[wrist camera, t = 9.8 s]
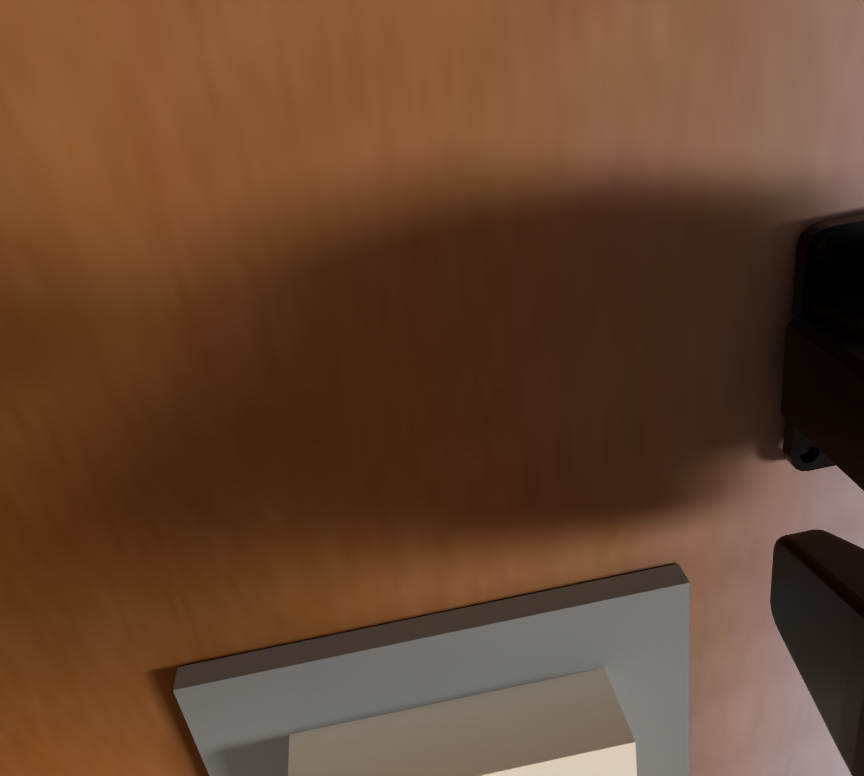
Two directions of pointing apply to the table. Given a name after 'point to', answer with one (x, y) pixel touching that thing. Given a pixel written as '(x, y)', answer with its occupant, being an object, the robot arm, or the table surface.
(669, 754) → the socket
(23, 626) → the table surface
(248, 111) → the table surface
